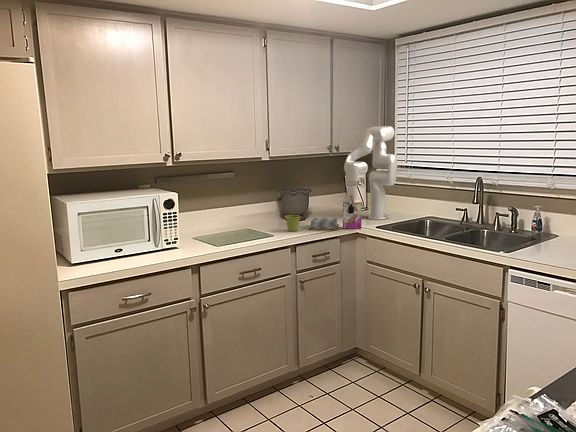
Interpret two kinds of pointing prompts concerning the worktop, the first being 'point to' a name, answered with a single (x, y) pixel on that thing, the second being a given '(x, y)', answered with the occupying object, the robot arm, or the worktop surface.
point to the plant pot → (292, 222)
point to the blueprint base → (324, 224)
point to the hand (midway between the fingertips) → (352, 212)
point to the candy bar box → (352, 216)
